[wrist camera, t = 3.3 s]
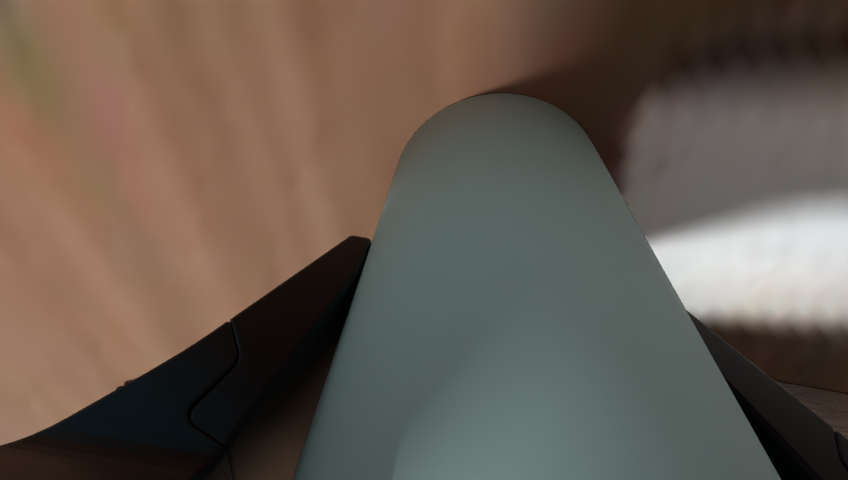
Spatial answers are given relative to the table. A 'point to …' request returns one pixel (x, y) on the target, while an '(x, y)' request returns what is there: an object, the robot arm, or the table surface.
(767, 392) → the robot arm
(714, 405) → the tin can
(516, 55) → the table surface
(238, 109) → the table surface
